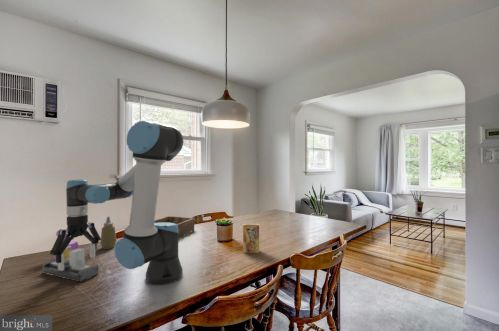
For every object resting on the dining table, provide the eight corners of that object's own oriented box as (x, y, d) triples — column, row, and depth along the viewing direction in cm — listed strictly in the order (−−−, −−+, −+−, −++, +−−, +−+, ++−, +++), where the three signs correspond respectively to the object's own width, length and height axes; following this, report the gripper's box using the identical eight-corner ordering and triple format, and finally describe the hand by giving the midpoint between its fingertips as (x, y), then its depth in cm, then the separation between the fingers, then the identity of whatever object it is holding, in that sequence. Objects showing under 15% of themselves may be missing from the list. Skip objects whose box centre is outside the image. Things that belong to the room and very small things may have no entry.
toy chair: (80, 255, 128) (80, 227, 127) (63, 261, 119) (63, 231, 119) (69, 253, 130) (69, 226, 130) (51, 259, 122) (51, 230, 122)
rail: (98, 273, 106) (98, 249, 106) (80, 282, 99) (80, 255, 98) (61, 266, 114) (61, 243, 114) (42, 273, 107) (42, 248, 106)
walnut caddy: (194, 230, 175) (194, 218, 175) (165, 244, 145) (165, 229, 145) (168, 227, 182) (168, 215, 182) (136, 240, 153) (136, 226, 153)
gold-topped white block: (91, 270, 105) (91, 250, 105) (82, 274, 101) (82, 253, 101) (77, 268, 108) (77, 248, 107) (68, 271, 104) (68, 251, 104)
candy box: (258, 250, 135) (258, 223, 135) (259, 253, 131) (259, 225, 131) (243, 250, 135) (243, 223, 135) (243, 253, 131) (243, 225, 131)
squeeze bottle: (114, 244, 145) (114, 214, 145) (118, 247, 139) (118, 216, 139) (98, 247, 139) (98, 216, 139) (102, 251, 133) (102, 219, 133)
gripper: (51, 222, 92) (51, 277, 92) (109, 210, 115) (109, 254, 115) (38, 220, 94) (39, 274, 94) (97, 209, 118) (98, 252, 118)
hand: (77, 263), depth 105 cm, fingers open, 13 cm apart
